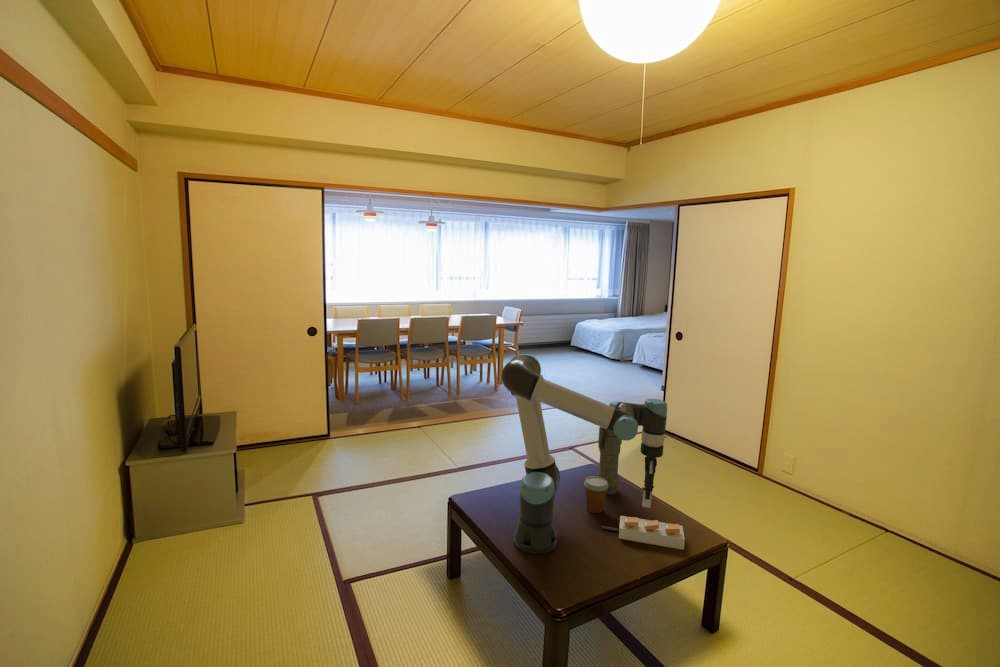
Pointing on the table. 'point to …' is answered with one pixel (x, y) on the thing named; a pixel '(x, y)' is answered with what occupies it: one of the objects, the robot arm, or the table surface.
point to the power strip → (650, 534)
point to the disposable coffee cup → (595, 493)
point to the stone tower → (609, 458)
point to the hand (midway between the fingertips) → (646, 506)
